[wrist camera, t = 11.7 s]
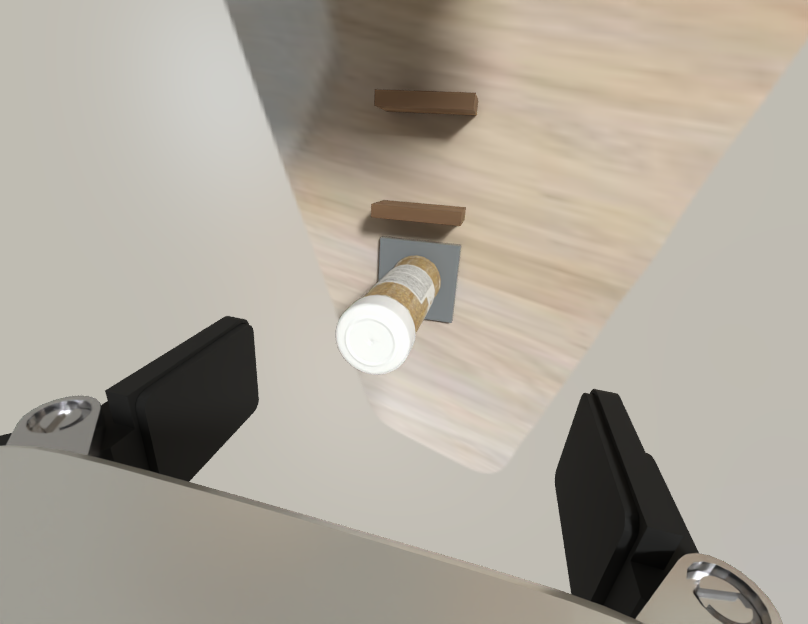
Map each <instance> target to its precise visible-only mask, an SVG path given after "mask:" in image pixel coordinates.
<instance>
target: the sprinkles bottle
mask: <svg viewBox="0 0 808 624" xmlns="http://www.w3.org/2000/svg"><path fill="white" fill-rule="evenodd" d="M440 286H441V278H440V274H439V271H438V269H437V268H436V266H435V264H434V263H432V262H431V261H430V260H428V259H426V258H425V257H422V256H417V255H415V256H408V257H405V258H403V259H401V260H400V261H399V262H398V263H397V264H396V265H395V267H394V268H393V269H392V270H390V271H389V272H388V273H387V274H386V275H385V276H384V277H383V278H382V279H381V280H380V281H379V282H378V283H377V284H376V285H374V286H373V287H372V288H371V289H370V291H369V292H368V293H367V294H366V296H365V297H363V298H360V299H359V300H357V301H356V302H354V303H353V304H352V305H351V306H350V307H349V308H348V309H347V310H346V311H345V312H344V313H343V315H342V316H341V317H340V319H339V321H338V324H337V327H336V342H337V346H338V349H339V351H340V353H341V355H342V356H343V358H344V359H345V360H346V361H347V362H348V363H349V364H350V365H352V366H353V367H354V368H356V369H357V370H359V371H362V372H364V373H368V374H374V375H380V374H386V373H389V372H392V371H394V370H396V369H397V368H399V367H400V366H401V365H402V364H403V363H404V361H405V360H406V358H407V356H408V355H409V353H410V351H411V349H412V347H413V344H414V341H415V334H416V332H417V330H418V328H419V327H420V325H421V324H422V322H423V320H424V318H425V316H426V314H427V312H428V311H429V309H430V307H431V305H432V303H433V300H434V298H435V297H436V295H437V294H438V291H439V289H440Z"/></svg>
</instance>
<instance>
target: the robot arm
mask: <svg viewBox="0 0 808 624" xmlns="http://www.w3.org/2000/svg"><path fill="white" fill-rule="evenodd" d="M105 392H106V395H107V399H108V401H107V402H105V403H104V404H102V405H101V404H100V402H99V401H98V400H97V399H95V398H92V397H89V396H72V397H65V398H61V399H56V400H53V401H51V402H48V403H45V404H42V405H40V406H39V407H37V408H35V409H33V410H31V411H30V412H29V413H27V414H26V415H24V416H23V417H22V418H21V420H20V421H19V422H18V423H17V425H16V427H15V429H14V431H13V433H10V434H6V435H2V436H0V624H783V623H782V620H781V618H780V615H779V613H778V611H777V610H776V608H775V606H774V605H773V603H772V602H771V600H770V599H769V598H768V596H767V595H766V594H765V593H764V592H763V591H762V590H761V589H760V588H759V587H758V586H757V585H756V584H755V583H754V582H753V581H752V580H750V579H749V578H748V577H747V576H746V575H744V574H743V573H742V572H741V571H739V570H737V569H736V568H734V567H733V566H731V565H729V564H727V563H726V562H724V561H722V560H719V559H717V558H714V557H712V556H710V555H704V554H699V552H698V550H697V548H696V546H695V544H694V542H693V540H692V538H691V536H690V534H689V531H688V530H687V527H686V525H685V523H684V521H683V519H682V517H681V515H680V512H679V511H678V508H677V506H676V504H675V502H674V500H673V498H672V496H671V494H670V491H669V489H668V487H667V485H666V483H665V481H664V479H663V477H662V475H661V473H660V470H659V468H658V466H657V464H656V462H655V460H654V459H653V457H652V456H651V455H649V454H648V453H645V451H644V448H643V446H642V444H641V442H640V440H639V437H638V435H637V433H636V431H635V429H634V427H633V425H632V422H631V420H630V418H629V416H628V413H627V412H626V409H625V407H624V405H623V403H622V400H621V398H620V396H619V395H618V394H616V393H612V392H607V391H602V390H596V389H593V390H592V391H591V392H590V394H588V393H583V395H582V396H581V399H580V402H579V405H578V408H577V411H576V414H575V417H574V419H573V422H572V425H571V428H570V431H569V434H568V437H567V440H566V443H565V446H564V449H563V452H562V455H561V458H560V461H559V463H558V467H557V469H556V474H555V487H556V495H557V501H558V507H559V515H560V521H561V527H562V535H563V540H564V548H565V555H566V561H567V567H568V574H569V581H570V588H571V594H569V593H566V592H563V591H560V590H557V589H554V588H550V587H547V586H544V585H541V584H538V583H534V582H531V581H528V580H525V579H521V578H518V577H514V576H512V575H509V574H505V573H502V572H498V571H496V570H493V569H489V568H486V567H483V566H479V565H476V564H473V563H469V562H466V561H462V560H459V559H455V558H452V557H448V556H445V555H442V554H438V553H435V552H432V551H428V550H424V549H421V548H418V547H414V546H411V545H408V544H404V543H401V542H397V541H394V540H390V539H387V538H384V537H380V536H377V535H374V534H370V533H366V532H363V531H360V530H356V529H353V528H349V527H346V526H342V525H339V524H335V523H332V522H328V521H325V520H322V519H318V518H315V517H311V516H308V515H304V514H301V513H297V512H293V511H290V510H286V509H283V508H280V507H276V506H273V505H269V504H266V503H262V502H259V501H254V500H252V499H248V498H244V497H241V496H237V495H234V494H230V493H227V492H223V491H219V490H216V489H212V488H209V487H205V486H202V485H198V484H194V483H191V482H189V481H190V480H191V479H192V478H193V477H194V476H195V475H196V474H197V472H198V471H199V470H200V469H201V468H202V467H203V466H204V465H205V464H206V463H207V462H208V461H209V460H210V459H211V458H212V456H213V455H214V454H215V453H216V452H217V451H218V450H219V449H220V448H221V447H222V446H223V445H224V444H225V442H226V441H227V440H228V439H229V438H230V437H231V436H232V435H233V434H234V433H235V432H236V431H237V430H238V429H239V428H240V426H241V425H242V424H243V423H244V422H245V421H246V420H247V419H248V418H249V417H250V416H251V414H253V412H254V411H255V410H256V408H257V405H258V401H259V397H258V384H257V371H256V358H255V345H254V332H253V328H252V326H250V325H249V323H248V322H247V320H245V319H240V318H235V317H230V316H226V317H224V318H222V319H220V320H219V321H217V322H215V323H214V324H212V325H211V326H209V327H208V328H206V329H204V330H202V331H201V332H199V333H198V334H196V335H194V336H193V337H191V338H189V339H188V340H187V341H185V342H183V343H182V344H180V345H178V346H177V347H175V348H173V349H172V350H170V351H168V352H167V353H165V354H164V355H162V356H160V357H159V358H157V359H156V360H154V361H152V362H151V363H149V364H148V365H146V366H144V367H143V368H141V369H139V370H138V371H136V372H135V373H133V374H131V375H130V376H128V377H126V378H125V379H123V380H122V381H120V382H119V383H117V384H115V385H114V386H112V387H111V388H109V389H107V390H106V391H105Z"/></svg>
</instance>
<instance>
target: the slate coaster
mask: <svg viewBox="0 0 808 624" xmlns="http://www.w3.org/2000/svg"><path fill="white" fill-rule="evenodd" d="M460 252H461V245H458V244H449V243H440V242H430V241H421V240H412V239H402V238H393V237H384V236H382V237H380V260H379V281H380V280H381V279H382V278H383V277H384V276H385V275H386V274H387V273H388V272H389V271H390V270H392V269H393V268H394V267H395V265H396V264H397V263H398V262H399V261H400V260H401V259H403V258H405V257H408V256H415V255H417V256H422V257H425V258H426V259H428V260H430V261H431V262H432V263H434V264H435V266H436V268H437V269H438V271H439V274H440V278H441V286H440V289H439V291H438V294H437V295H436V297H435V298H434V300H433V303H432V305H431V307H430V309H429V311H428V312H427V314H426V316H425V318H424V319H429V320H436V321H442V322H449V323H452V321H453V312H454V304H455V295H456V287H457V278H458V269H459V261H460Z"/></svg>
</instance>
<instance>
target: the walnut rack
mask: <svg viewBox="0 0 808 624" xmlns="http://www.w3.org/2000/svg"><path fill="white" fill-rule="evenodd" d="M374 106H377V107H379V108H381V109H383V110H385V111H390V112H413V113H435V114H458V115H477V107H478V98H477V96H476V93H465V92H436V91H406V90H376V89H375V101H374ZM465 210H466V207H455V206H444V205H433V204H421V203H410V202H399V201H388V200H383V201H380V202H376V203H373V204H371V217H374V218H384V219H394V220H404V221H414V222H425V223H435V224H445V225H455V226H461V224H462V223H463V221H464V218H465Z"/></svg>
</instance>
